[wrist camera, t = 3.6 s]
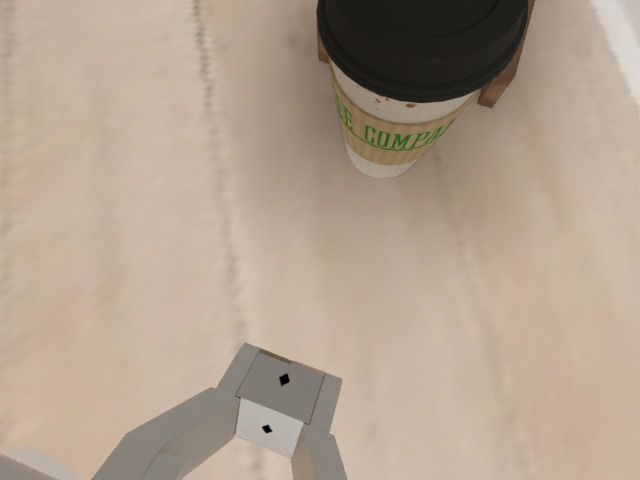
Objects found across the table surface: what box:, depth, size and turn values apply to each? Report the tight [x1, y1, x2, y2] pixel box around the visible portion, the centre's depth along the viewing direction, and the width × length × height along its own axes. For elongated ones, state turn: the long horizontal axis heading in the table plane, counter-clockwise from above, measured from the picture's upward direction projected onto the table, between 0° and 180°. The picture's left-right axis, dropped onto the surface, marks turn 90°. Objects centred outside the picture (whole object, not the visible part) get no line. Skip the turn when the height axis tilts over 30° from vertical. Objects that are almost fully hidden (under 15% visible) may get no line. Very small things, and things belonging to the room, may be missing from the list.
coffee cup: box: [317, 0, 528, 179], centre depth 23 cm, size 10×10×15 cm
